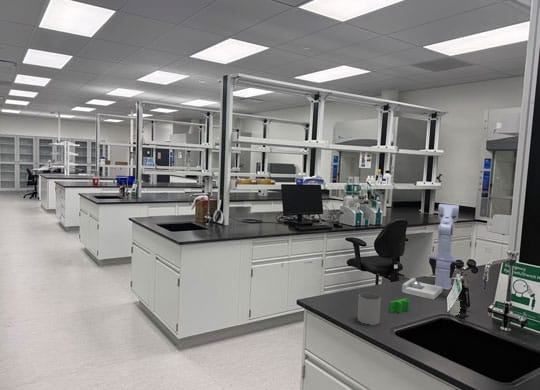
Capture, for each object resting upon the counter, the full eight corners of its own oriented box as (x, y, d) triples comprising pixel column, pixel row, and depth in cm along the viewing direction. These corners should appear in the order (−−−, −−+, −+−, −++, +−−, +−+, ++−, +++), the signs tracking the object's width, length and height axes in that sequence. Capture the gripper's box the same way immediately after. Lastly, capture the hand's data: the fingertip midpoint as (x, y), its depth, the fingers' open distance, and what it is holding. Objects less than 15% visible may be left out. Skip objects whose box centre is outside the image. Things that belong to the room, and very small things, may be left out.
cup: (375, 326, 144) (377, 301, 143) (354, 321, 148) (356, 296, 147) (381, 319, 151) (383, 295, 150) (361, 315, 155) (362, 291, 154)
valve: (461, 318, 156) (469, 311, 164) (462, 303, 155) (470, 296, 164) (444, 314, 160) (453, 307, 169) (445, 299, 160) (454, 293, 168)
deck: (412, 285, 200) (412, 277, 199) (442, 291, 191) (442, 284, 190) (401, 292, 187) (402, 284, 187) (433, 299, 178) (434, 291, 178)
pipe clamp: (395, 315, 157) (396, 304, 157) (388, 312, 160) (389, 301, 160) (413, 310, 163) (413, 300, 163) (406, 307, 166) (406, 297, 166)
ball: (423, 283, 190) (420, 292, 190) (413, 279, 194) (411, 289, 193) (420, 282, 187) (417, 292, 186) (410, 279, 190) (407, 289, 190)
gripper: (426, 247, 183) (424, 274, 184) (458, 252, 174) (456, 281, 175) (430, 245, 189) (428, 272, 190) (462, 250, 180) (460, 278, 181)
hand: (442, 276), depth 183 cm, fingers open, 7 cm apart
